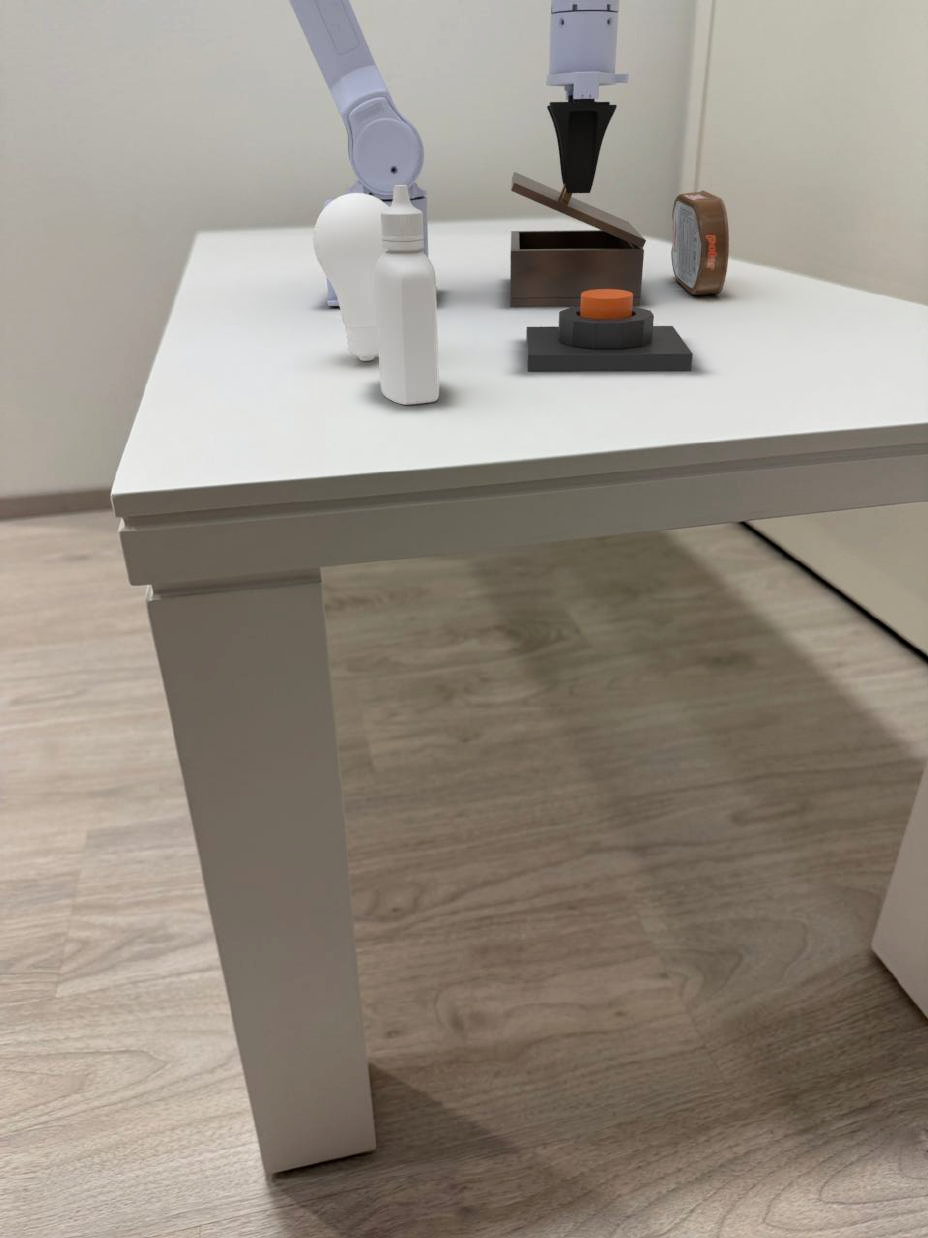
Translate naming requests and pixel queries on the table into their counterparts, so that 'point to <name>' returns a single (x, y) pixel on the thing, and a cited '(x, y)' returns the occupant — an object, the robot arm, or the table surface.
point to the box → (571, 267)
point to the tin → (700, 242)
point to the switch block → (606, 345)
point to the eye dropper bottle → (406, 307)
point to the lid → (576, 209)
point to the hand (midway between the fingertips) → (576, 190)
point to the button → (606, 304)
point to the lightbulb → (353, 264)
